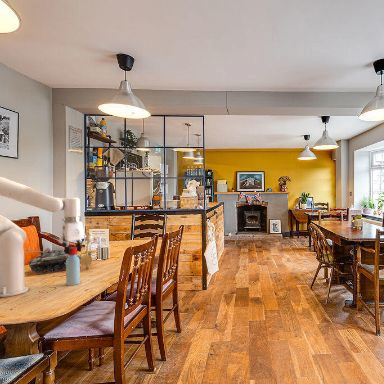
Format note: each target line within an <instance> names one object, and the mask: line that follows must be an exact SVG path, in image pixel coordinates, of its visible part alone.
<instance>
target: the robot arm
mask: <svg viewBox="0 0 384 384" xmlns="http://www.w3.org/2000/svg"><path fill="white" fill-rule="evenodd" d="M0 196H1V197H5V198H8V199H11V200H14V201H16V202H19V203H22V204H25V205H29V206H31V207H35V208H38V209H41V210H44V211H47V212H49V213H57V212H60V211H63V218H62V219H61V220H62V222H63V223H62V227H61V236H60V237H59V239H58V240H57V242H58V243H59V244H60V245H61V246H62V247H64V249H63V250H64V251H63V252H64V253H65V254H70V243H71V242H76V244H75V247H77V253H78V252H79V253H81V252H82V245H83V243H84V241H85V240H86V238H87V237H86V234H85V230H84V224H83V221H81V199H80V198H79V197H76V196H75V197H57V196H51V195H48V194H46V193H43V192H41V191H38V190H36V189H34V188H33V187H30V186H28V185H27V184H23V183H19V182H17V181H14V180H11V179H8V178H6V177H4V176H0ZM26 240H27V233H26V231H25V230H24V229H23V228H21V227H20V226H18V224H16V223H15V222H13V221H11V219H9V218H7V217H6V216H4V215H1V214H0V298H6V297H13V296H18V295H21V294H24V293H26V292H28V291H29V286H26V285H25V283H26V282H25V249H24V243H25V242H26Z"/></svg>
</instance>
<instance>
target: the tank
mask: <svg viewBox="0 0 384 384" xmlns="http://www.w3.org/2000/svg"><path fill="white" fill-rule="evenodd" d="M63 250H64V249H57V250H55V249H53V250H51V248H49V247H47V248H46V249H45V250H44V251H42V250H41V251H40V250H28V249H25V251H26V252H32V253H33V252H34V253H40V254H39V255H38V256H35V257H34V258H32V259H30V260H29V262H28V265H29V268H30V270H31V272H34V273H36V274H38V275H43V274H48V273H49V274H50V273H55V272H56V273H57V272H62V271H66V259H67V258H68V256H69V254H65V252H64V251H63ZM76 255H77V256H78V258H79V259H81V257H83V255H81V254H80V255H79V254H78V253H77V254H76ZM80 264H81V262H80Z"/></svg>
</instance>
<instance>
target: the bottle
mask: <svg viewBox="0 0 384 384" xmlns="http://www.w3.org/2000/svg"><path fill="white" fill-rule="evenodd" d="M77 255H78V254H77ZM77 255H69V256H68V258H67V259H66V270H65V276H66V277H65V284H66V286H76V285H79V284H81V263H80V259H79V258H78V256H77Z"/></svg>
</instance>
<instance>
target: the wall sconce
mask: <svg viewBox="0 0 384 384" xmlns="http://www.w3.org/2000/svg"><path fill="white" fill-rule="evenodd" d="M85 236H86V238H87V241H86V248H85V249H86V250H83V251H81V252H80V253H81V254H83V255H82V257H81V259H80V262H81V263H80V265H82V266H84V267H85V266H86V269H88V270H89V269H90V268H91V265H92V263H93V257H92V254H95V253H98V250H97V249H89V245H90V237H91V235H90V231H89V230H86V232H85Z"/></svg>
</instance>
